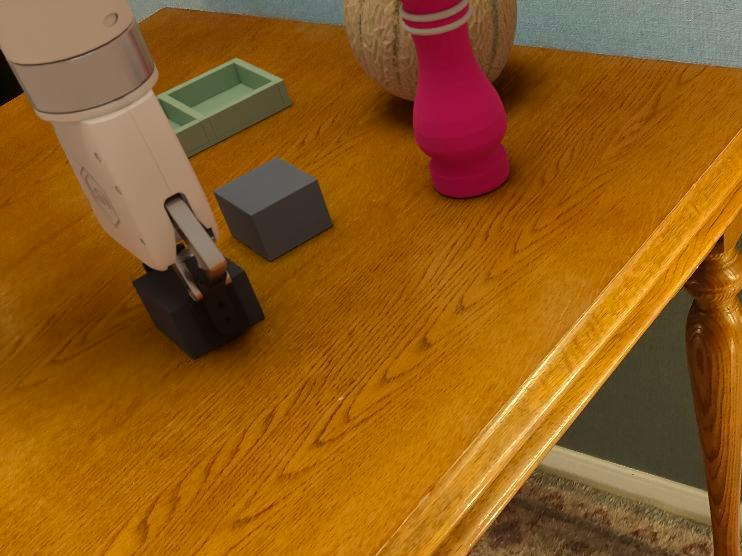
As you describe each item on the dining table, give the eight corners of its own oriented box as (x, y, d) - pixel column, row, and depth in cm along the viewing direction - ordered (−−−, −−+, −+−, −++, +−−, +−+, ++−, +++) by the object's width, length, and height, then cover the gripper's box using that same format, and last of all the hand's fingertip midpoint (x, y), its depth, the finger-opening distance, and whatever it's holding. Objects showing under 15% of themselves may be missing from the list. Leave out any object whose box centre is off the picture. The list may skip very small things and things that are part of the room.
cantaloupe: (342, 104, 93) (287, -75, 81) (470, 43, 97) (435, -135, 86) (425, 155, 84) (377, -38, 73) (563, 86, 88) (537, -106, 77)
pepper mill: (415, 173, 82) (344, -102, 67) (496, 145, 83) (443, -132, 68) (444, 212, 77) (374, -74, 62) (529, 181, 78) (480, -107, 64)
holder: (131, 187, 88) (118, 161, 86) (90, 158, 93) (77, 133, 91) (292, 104, 94) (283, 79, 92) (245, 81, 99) (236, 57, 97)
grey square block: (269, 262, 76) (250, 215, 74) (231, 236, 80) (212, 190, 77) (333, 225, 79) (317, 178, 76) (293, 202, 82) (277, 156, 79)
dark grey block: (193, 360, 70) (169, 313, 67) (155, 327, 73) (130, 281, 70) (265, 317, 72) (245, 270, 69) (225, 287, 75) (204, 241, 72)
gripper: (-25, 60, 62) (111, 300, 76) (87, 135, 52) (220, 395, 66) (84, 12, 65) (197, 252, 78) (209, 76, 55) (314, 337, 68)
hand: (207, 315), depth 72 cm, fingers closed on dark grey block, 6 cm apart
